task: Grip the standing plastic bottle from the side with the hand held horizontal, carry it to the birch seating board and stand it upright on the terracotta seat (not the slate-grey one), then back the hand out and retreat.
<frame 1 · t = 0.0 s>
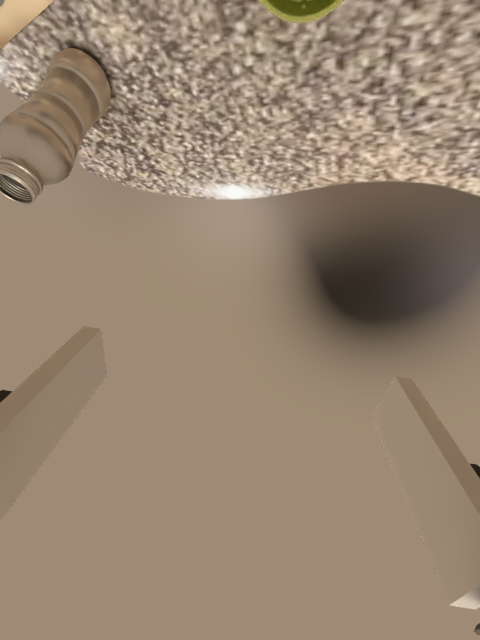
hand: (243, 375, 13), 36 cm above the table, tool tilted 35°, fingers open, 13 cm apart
plastic bottle: (89, 74, 35), on the table
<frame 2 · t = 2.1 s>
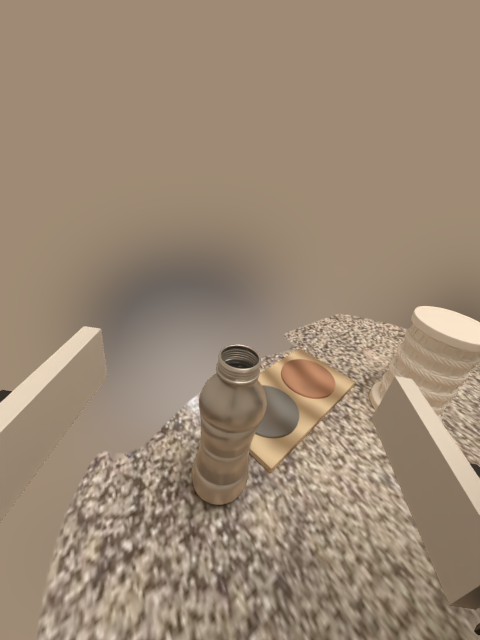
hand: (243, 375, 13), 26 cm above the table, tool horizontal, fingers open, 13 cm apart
seating board: (287, 397, 49), on the table
plastic bottle: (218, 484, 34), on the table
decorative container: (401, 408, 50), on the table
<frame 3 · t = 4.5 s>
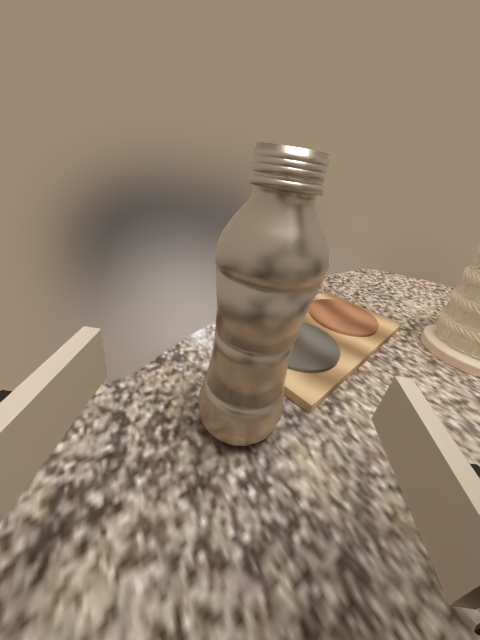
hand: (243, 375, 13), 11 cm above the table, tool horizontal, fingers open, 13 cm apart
seating board: (319, 336, 38), on the table
plastic bottle: (236, 424, 24), on the table
decorative container: (463, 354, 40), on the table
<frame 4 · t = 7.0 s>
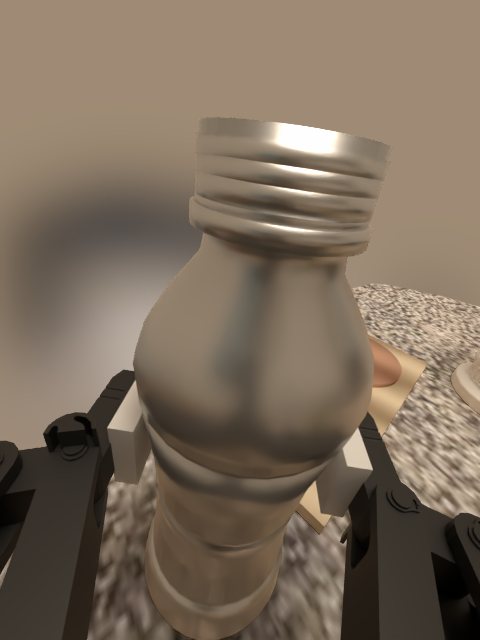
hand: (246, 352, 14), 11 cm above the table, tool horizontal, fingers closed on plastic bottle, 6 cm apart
seating board: (327, 385, 30), on the table
plastic bottle: (210, 566, 15), on the table, touching gripper
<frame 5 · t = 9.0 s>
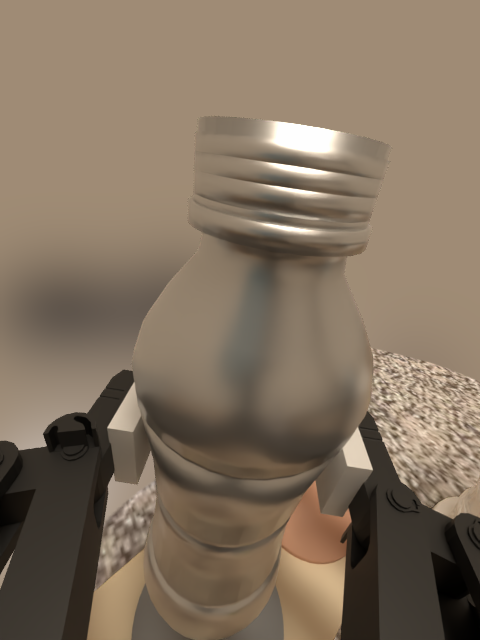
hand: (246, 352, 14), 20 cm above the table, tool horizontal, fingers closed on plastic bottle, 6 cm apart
seating board: (263, 554, 23), on the table
plastic bottle: (209, 567, 15), point 9 cm above the table, touching gripper
when the fingers open (14 cm above the table, at t = 11.2 s): plastic bottle drops 2 cm, resting on seating board.
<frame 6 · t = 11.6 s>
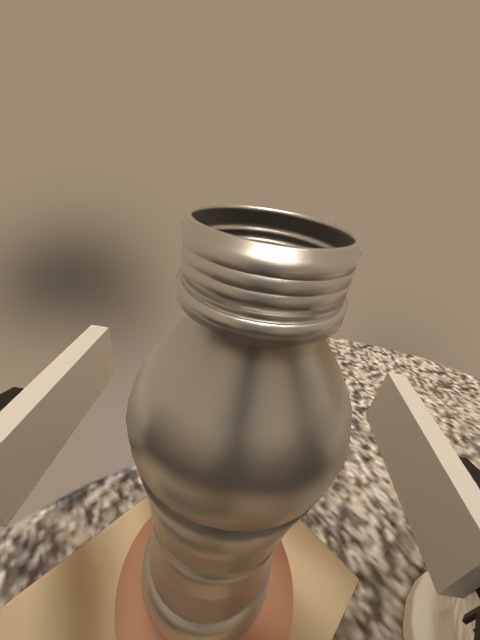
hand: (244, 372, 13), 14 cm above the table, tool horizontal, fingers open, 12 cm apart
plastic bottle: (204, 578, 16), point 1 cm above the table, touching seating board
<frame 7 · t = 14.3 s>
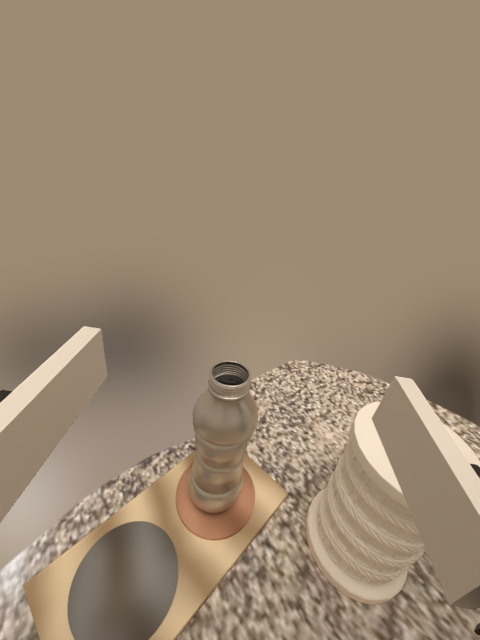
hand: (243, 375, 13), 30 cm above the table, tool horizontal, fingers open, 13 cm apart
seating board: (176, 536, 32), on the table
plastic bottle: (214, 492, 35), point 1 cm above the table, touching seating board
decorative container: (351, 540, 34), on the table
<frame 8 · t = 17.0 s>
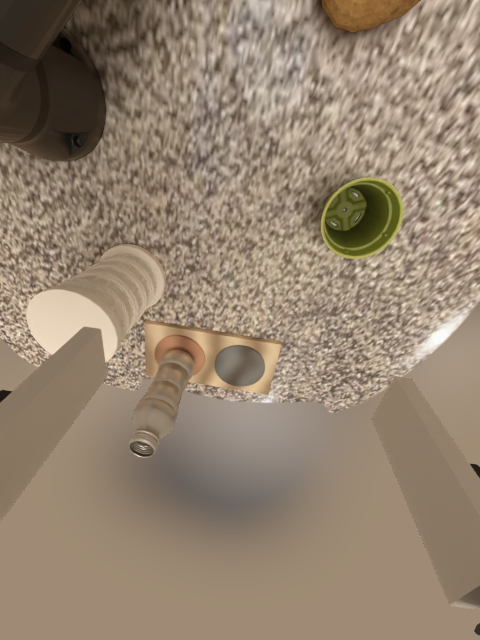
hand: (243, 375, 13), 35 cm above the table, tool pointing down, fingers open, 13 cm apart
seating board: (210, 357, 56), on the table
plant pot: (343, 209, 41), on the table
plastic bottle: (180, 357, 55), point 1 cm above the table, touching seating board
decorative container: (134, 276, 49), on the table
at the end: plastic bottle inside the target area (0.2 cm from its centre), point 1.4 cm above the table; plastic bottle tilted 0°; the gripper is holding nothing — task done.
